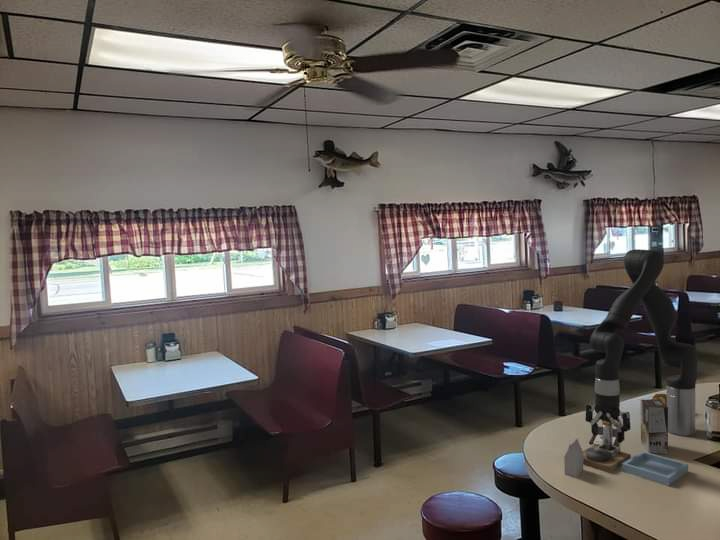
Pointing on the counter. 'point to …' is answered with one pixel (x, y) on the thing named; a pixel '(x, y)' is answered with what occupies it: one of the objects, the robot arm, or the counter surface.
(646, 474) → the tray
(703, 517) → the counter surface
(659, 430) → the coffee box
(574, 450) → the grey house block
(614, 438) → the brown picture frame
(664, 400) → the pastry
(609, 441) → the lock pin
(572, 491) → the counter surface
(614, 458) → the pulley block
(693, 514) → the counter surface
